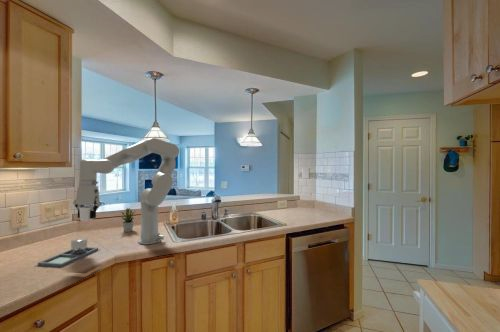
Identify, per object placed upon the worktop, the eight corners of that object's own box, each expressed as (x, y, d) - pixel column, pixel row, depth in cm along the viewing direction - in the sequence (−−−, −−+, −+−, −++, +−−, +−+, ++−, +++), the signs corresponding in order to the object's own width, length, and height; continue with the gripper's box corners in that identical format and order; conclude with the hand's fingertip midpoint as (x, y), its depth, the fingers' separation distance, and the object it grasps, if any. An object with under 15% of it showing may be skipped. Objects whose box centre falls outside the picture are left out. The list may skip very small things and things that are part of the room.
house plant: (113, 229, 176) (113, 206, 176) (134, 227, 185) (135, 204, 185) (117, 234, 165) (117, 209, 165) (140, 231, 173) (140, 207, 173)
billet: (90, 251, 129) (90, 238, 129) (79, 256, 122) (80, 242, 122) (78, 250, 130) (78, 238, 129) (67, 255, 123) (67, 242, 123)
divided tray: (101, 251, 132) (101, 247, 132) (61, 271, 108) (61, 265, 108) (77, 250, 133) (77, 246, 133) (33, 269, 110) (33, 263, 110)
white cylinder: (83, 218, 134) (84, 205, 134) (97, 218, 135) (97, 205, 135) (75, 221, 127) (76, 207, 127) (89, 221, 128) (90, 207, 128)
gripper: (108, 183, 134) (107, 217, 133) (78, 182, 136) (77, 215, 136) (97, 184, 126) (96, 220, 126) (66, 182, 129) (65, 218, 128)
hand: (86, 217), depth 131 cm, fingers closed on white cylinder, 6 cm apart
